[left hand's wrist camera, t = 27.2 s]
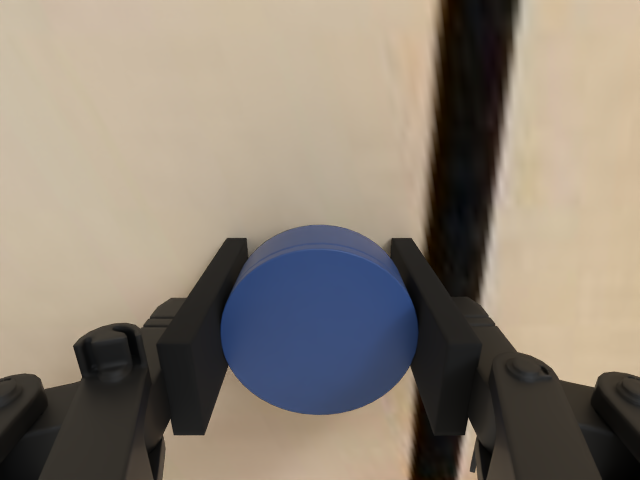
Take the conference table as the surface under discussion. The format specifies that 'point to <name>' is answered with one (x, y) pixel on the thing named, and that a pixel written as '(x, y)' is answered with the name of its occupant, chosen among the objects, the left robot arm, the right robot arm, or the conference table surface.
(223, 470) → the conference table surface
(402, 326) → the lid
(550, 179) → the conference table surface
